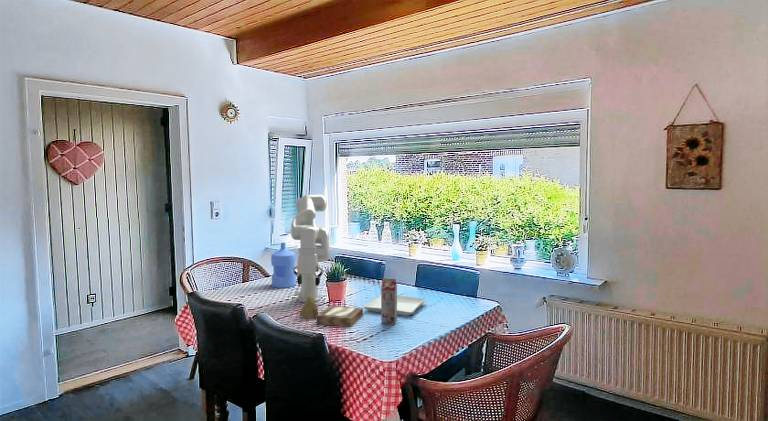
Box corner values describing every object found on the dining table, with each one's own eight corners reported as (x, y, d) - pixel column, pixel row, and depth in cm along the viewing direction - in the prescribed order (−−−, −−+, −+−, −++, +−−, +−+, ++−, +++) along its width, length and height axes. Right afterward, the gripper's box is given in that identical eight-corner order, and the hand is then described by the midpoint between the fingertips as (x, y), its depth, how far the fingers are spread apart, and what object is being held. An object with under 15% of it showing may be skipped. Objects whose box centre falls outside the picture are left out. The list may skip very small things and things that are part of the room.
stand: (316, 323, 235) (316, 315, 235) (330, 313, 252) (330, 305, 252) (351, 326, 230) (351, 318, 230) (362, 315, 247) (362, 307, 247)
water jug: (288, 281, 326) (287, 240, 323) (300, 285, 314) (299, 243, 312) (267, 285, 315) (266, 243, 313) (279, 289, 304) (278, 245, 301)
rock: (324, 313, 243) (319, 306, 252) (314, 302, 240) (309, 295, 249) (307, 328, 241) (302, 319, 250) (297, 316, 238) (293, 308, 247)
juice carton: (394, 324, 233) (394, 280, 231) (381, 324, 234) (381, 279, 232) (396, 320, 239) (396, 277, 237) (383, 320, 240) (383, 276, 238)
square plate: (362, 313, 253) (362, 305, 253) (382, 300, 279) (382, 293, 278) (411, 318, 244) (411, 311, 243) (427, 304, 269) (427, 298, 269)
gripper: (289, 251, 242) (289, 285, 243) (320, 252, 237) (321, 287, 238) (295, 249, 249) (296, 282, 250) (326, 250, 244) (327, 284, 245)
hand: (308, 284), depth 244 cm, fingers open, 9 cm apart
